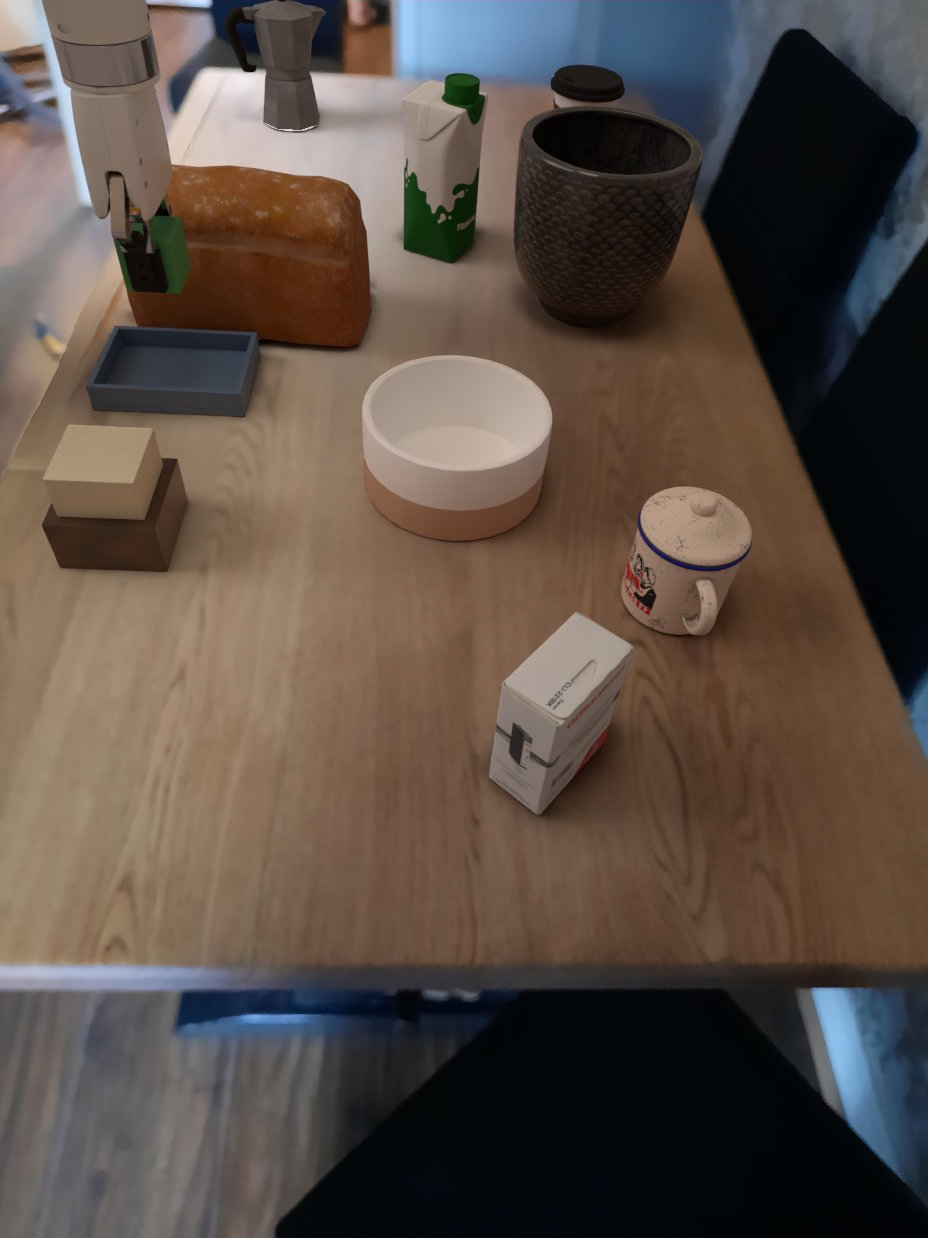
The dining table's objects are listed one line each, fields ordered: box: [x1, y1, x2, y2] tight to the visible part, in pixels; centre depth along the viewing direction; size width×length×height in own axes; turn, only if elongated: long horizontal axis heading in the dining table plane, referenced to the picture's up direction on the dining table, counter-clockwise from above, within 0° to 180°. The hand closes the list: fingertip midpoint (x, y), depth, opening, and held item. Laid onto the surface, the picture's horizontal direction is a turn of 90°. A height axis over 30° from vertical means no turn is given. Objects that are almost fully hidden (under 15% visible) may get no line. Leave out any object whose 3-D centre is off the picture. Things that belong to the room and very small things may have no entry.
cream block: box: [42, 423, 163, 520], centre depth 70 cm, size 7×7×4 cm
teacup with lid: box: [620, 486, 753, 636], centre depth 69 cm, size 12×9×12 cm
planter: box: [513, 106, 703, 327], centre depth 98 cm, size 20×20×19 cm
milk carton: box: [400, 72, 489, 264], centre depth 106 cm, size 9×9×20 cm
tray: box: [85, 325, 261, 418], centre depth 89 cm, size 15×11×3 cm
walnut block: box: [41, 457, 189, 572], centre depth 74 cm, size 9×9×5 cm
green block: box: [112, 216, 191, 294], centre depth 80 cm, size 5×5×5 cm
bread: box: [126, 163, 372, 347], centre depth 94 cm, size 14×26×16 cm, turn 87°
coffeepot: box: [223, 0, 327, 130], centre depth 130 cm, size 15×9×18 cm, turn 114°
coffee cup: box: [550, 64, 626, 109], centre depth 128 cm, size 11×11×12 cm
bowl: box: [361, 354, 553, 542], centre depth 80 cm, size 17×17×8 cm
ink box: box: [488, 611, 634, 816], centre depth 59 cm, size 8×5×12 cm, turn 140°
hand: (157, 273), depth 81 cm, fingers closed on green block, 5 cm apart
